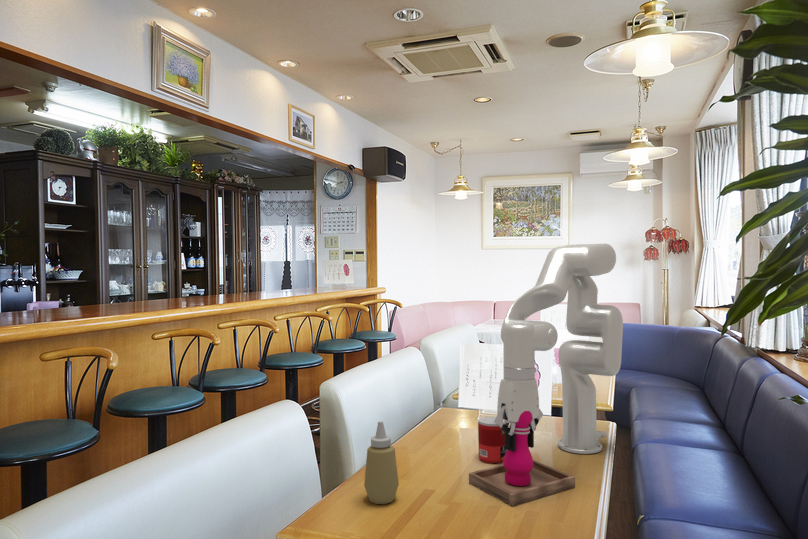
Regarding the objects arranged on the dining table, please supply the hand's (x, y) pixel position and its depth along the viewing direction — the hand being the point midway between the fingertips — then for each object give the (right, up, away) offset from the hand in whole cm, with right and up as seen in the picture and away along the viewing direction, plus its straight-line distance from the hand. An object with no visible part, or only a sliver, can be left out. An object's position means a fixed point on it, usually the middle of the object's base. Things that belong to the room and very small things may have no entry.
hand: (519, 447), depth 135 cm
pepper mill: (-1, -8, 0) cm, 8 cm away
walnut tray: (+1, -9, 0) cm, 9 cm away
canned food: (-3, -10, +19) cm, 22 cm away
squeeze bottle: (-34, -10, -7) cm, 36 cm away
